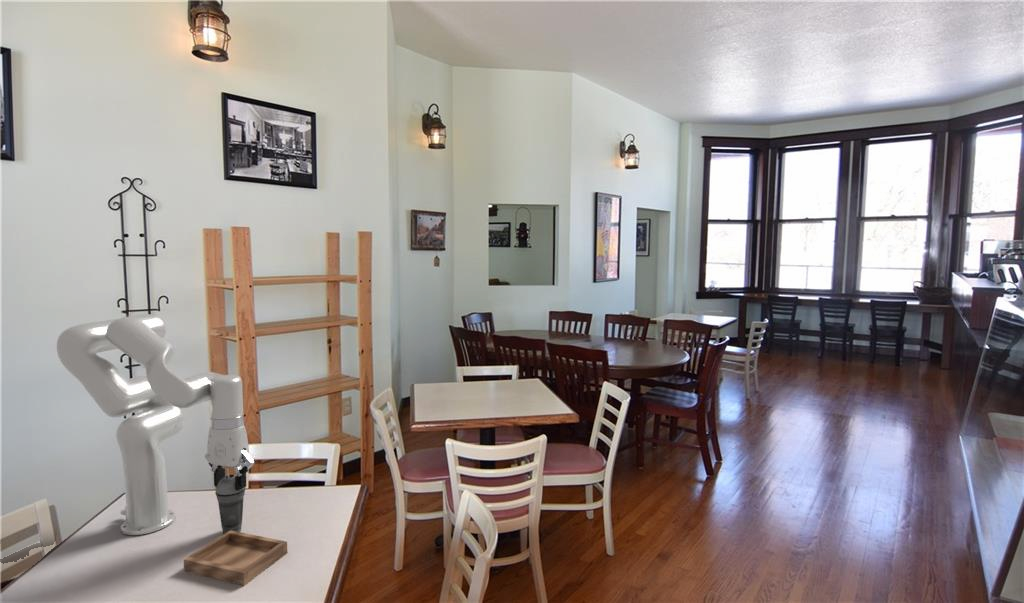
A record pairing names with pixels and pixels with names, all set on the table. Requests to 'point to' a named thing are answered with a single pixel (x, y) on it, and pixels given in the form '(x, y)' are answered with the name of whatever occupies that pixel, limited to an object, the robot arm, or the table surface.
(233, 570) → the walnut tray
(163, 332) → the robot arm
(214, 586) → the table surface
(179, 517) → the table surface
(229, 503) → the beverage cup
